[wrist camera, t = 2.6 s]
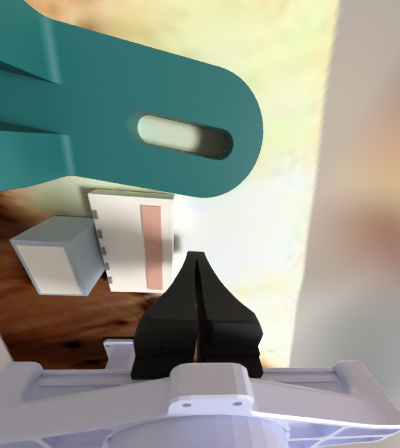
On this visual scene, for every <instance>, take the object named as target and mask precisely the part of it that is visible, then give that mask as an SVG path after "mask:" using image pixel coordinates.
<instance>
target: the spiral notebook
mask: <svg viewBox="0 0 400 448" xmlns="http://www.w3.org/2000/svg"><path fill="white" fill-rule="evenodd" d="M88 197H89V202H90V206H91V210H92V214H93V218H94V222H95V227H96V231H97V235H98V239H99V243H100V248H101V252H102V256H103V260H104V264H105V268H106V273H107V277H108V281H109V285H110V289H111V291H119V292H155V293H165V291H166V290H167V289H168V288H169V287H170V285H171V284H172V283H173V266H174V210H175V195H172V194H159V193H145V192H132V191H118V190H105V189H95V190H93V191H91V192H89V193H88Z"/></svg>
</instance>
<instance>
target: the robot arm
mask: <svg viewBox="0 0 400 448" xmlns="http://www.w3.org/2000/svg"><path fill="white" fill-rule="evenodd" d="M196 307H197V308H196ZM262 336H263V332H262V329H261V326H260V323H259V321H258V319H257V317H256V315H255V313H253V312H252V311H251V310H249V309H248V308H247V307H246V306H244V305H243V304H242V303H241V302H240V301H238V300H237V299H236V298H235V297H234V296H233V295H232V294H231V293H230V292H229V291H228V290H227V288H226V287H225V286H224V285H223V284H222V282H221V281H220V280H219V278H218V277H217V276H216V274H215V273H214V271H213V269H212V268H211V266H210V264H209V262H208V260H207V258H206V256H205V253H204V252H194V251H188V252H187V256H186V259H185V262H184V264H183V266H182V268H181V270H180V272H179V273H178V275H177V277H176V278H175V280H174V281H173V283H172V284H171V285H170V287H169V288H168V289H167V290H166V291H165V293H164V294H163V295H162V296H161V297H160V298H159V299H158V300H157V301H156V302H155V303H154V304H153V305H152V306H151V307H150V308H148V309H147V310H146V311H145V313H144V314H143V316H142V318H141V320H140V322H139V324H138V327H137V329H136V332H135V335H134V339H106V340H105V341H104V343H103V344H104V347H105V350H106V353H107V356H108V358H109V359H108V362H107V365H106V367H105V369H98V370H43V368H42V366H41V365H40V364H39V363H36V362H10V363H8V364H7V365H6V366H5V367H4V369H3V370H2V371H1V372H0V448H317V447H325V446H334V445H343V444H353V443H367V442H378V441H380V440H382V439H385V438H387V437H390V436H392V435H394V434H396V433H399V432H400V412H399V411H398V410H397V408H396V407H395V406H394V405H393V403H392V402H391V401H390V399H389V398H388V397H387V395H386V394H385V393H384V391H383V390H382V389H381V388H380V386H379V385H378V384H377V382H376V381H375V380H374V378H373V377H372V376H371V374H370V373H369V372H368V370H367V369H366V368H365V366H364V365H363V364H362V363H361V361H359V360H342V361H339V362H337V363H335V365H334V366H333V368H262V365H261V362H260V359H259V356H260V352H259V349H258V345H259V343H260V341H261V338H262ZM196 340H197V363H193V358H194V354H195V347H196Z"/></svg>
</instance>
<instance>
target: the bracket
mask: <svg viewBox="0 0 400 448" xmlns="http://www.w3.org/2000/svg"><path fill="white" fill-rule="evenodd" d="M145 115H152V116H157V117H161V118H165V119H170V120H174V121H178V122H183V123H187V124H191V125H195V126H200V127H204V128H208V129H213V130H217V131H220V132H222V133H223V134H224V135H225V137H226V139H227V147H226V150H225V152H224V153H223V154H222V155H220V156H218V157H210V156H206V155H201V154H196V153H191V152H187V151H182V150H177V149H172V148H168V147H163V146H158V145H153V144H149V143H146V142H145V141H143V140H142V139H141V137H140V136H139V133H138V130H137V125H138V122H139V120H140V118H141V117H143V116H145ZM262 139H263V121H262V115H261V111H260V108H259V105H258V102H257V100H256V98H255V96H254V94H253V93H252V91H251V90H250V88H249V87H248V86H247V84H246V83H245V82H244V81H243V80H242V79H241V78H240V77H238V76H237V75H235V74H234V73H232V72H230V71H229V70H227V69H224V68H221V67H218V66H214V65H211V64H207V63H204V62H200V61H197V60H193V59H190V58H186V57H183V56H179V55H176V54H172V53H169V52H165V51H162V50H158V49H155V48H151V47H148V46H144V45H141V44H137V43H134V42H130V41H126V40H123V39H119V38H116V37H112V36H109V35H105V34H102V33H98V32H95V31H91V30H88V29H84V28H81V27H77V26H74V25H70V24H67V23H63V22H60V21H56V20H53V19H50V18H48V17H46V16H44V15H42V14H40V13H39V12H37V11H36V10H35V9H33V8H32V7H31V6H30V5H29V4H27V3H26V2H25V1H24V0H0V191H3V190H10V189H17V188H23V187H28V186H33V185H37V184H40V183H44V182H47V181H51V180H54V179H58V178H61V177H65V176H79V177H85V178H90V179H96V180H102V181H107V182H113V183H119V184H124V185H130V186H136V187H141V188H147V189H153V190H159V191H164V192H170V193H176V194H181V195H187V196H193V197H200V198H208V197H215V196H219V195H222V194H224V193H227V192H229V191H230V190H232V189H234V188H235V187H237V186H238V185H239V184H240V183H241V182H242V181H243V180H244V179H245V178H246V177H247V176H248V175H249V173H250V172H251V170H252V169H253V167H254V165H255V163H256V161H257V159H258V156H259V153H260V150H261V146H262Z"/></svg>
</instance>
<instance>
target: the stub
mask: <svg viewBox="0 0 400 448" xmlns="http://www.w3.org/2000/svg"><path fill="white" fill-rule="evenodd" d="M10 242H11V244H12V245H13V247H14V249H15V251H16V253H17V255H18V256H19V258H20V260H21V262H22V264H23V266H24V267H25V269H26V271H27V273H28V275H29V277H30V278H31V280H32V282H33V284H34V286H35V288H36V290H37V291H38V293H39V295H76V296H87V295H88V294H89V292H90V291H91V290H92V288H93V287H94V285H95V284H96V282H97V281H98V279H99V278H100V276H101V275H102V273H103V272H104V270H105V269H106V268H105V264H104V260H103V256H102V252H101V248H100V243H99V239H98V235H97V231H96V227H95V222H94V218H85V217H69V216H52V217H50V218H48V219H47V220H45V221H43V222H41V223H39V224H37V225H36V226H34V227H32V228H30V229H28V230H26V231H25V232H23V233H21V234H19V235H17V236H15V237H14V238H12V239H10Z"/></svg>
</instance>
